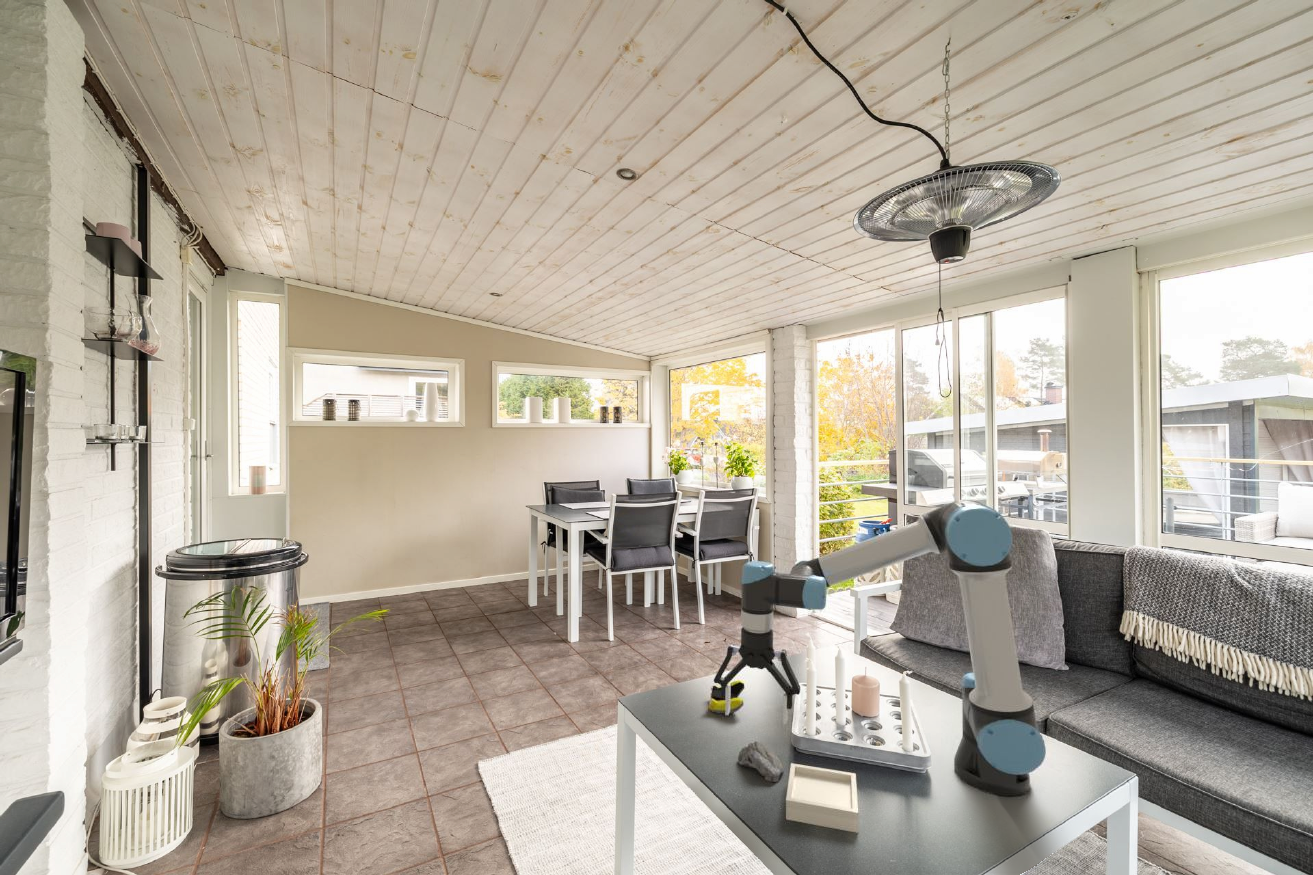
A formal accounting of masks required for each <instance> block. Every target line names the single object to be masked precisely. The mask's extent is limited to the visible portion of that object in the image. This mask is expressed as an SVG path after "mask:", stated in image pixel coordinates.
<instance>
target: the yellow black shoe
mask: <svg viewBox="0 0 1313 875" xmlns="http://www.w3.org/2000/svg"><path fill="white" fill-rule="evenodd" d="M729 684H731V696H730V713H729V714H734V713H736V712H739V710H740V709H741V708H742V707H743V706H744V700H743V699H742V698H741V697H739V696H740V695H741V693H742V692H743V691H744V689H745V683H744V682H743V680H734V681H732V682H729ZM710 691H711V693H710V697H709V698H708V701H709V702H708V709H709V710H710V711H711V712H712V713H715V714H716V713H717V714H725V700H724V699H722V698H721V686H717V685H711V686H710Z"/></svg>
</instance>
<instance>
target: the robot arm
mask: <svg viewBox="0 0 1313 875" xmlns="http://www.w3.org/2000/svg"><path fill="white" fill-rule="evenodd" d="M1012 545H1013V533H1012V529H1011V527H1010V524H1009V523H1008V521H1007V520H1006V519H1005V517H1004V516H1003V515H1002V514H1001V513H999V511H997V510H996V509H994V508H993V507H990V506H988V505H985V504H983V503H981V502H980V501H976V500H973V499H972V500H971V499H959V500H954V501H952V502H950V503H948V504H947V503H946V504H945V505H943V506H941V507H938V508H936V509H933V510H932V511H929V512H926V513H924V514H921V515H919V517H918V519H917V520H916V521H915V522H913V523H909V524H907V525H904V526H900V527H899V528H895V529H892V530H890V531H887V532H884V533H882V534H879V535H875V536H873V537H871V538H868V539H865V540H862V541H859V542H857V543H854V544H852V545H849V546H846V547H844V548H841V549H837V550H834V551H832V552H829V553H827V554H823V555H821V556H819V557H815V558H813V559H811V560H806V559H805V560H804V559H803V560H800V561H797V563H795V564H794V566H792V568H791V570H790V573H782V572H781V573H780V572H778V571H777V572H776V571H775V566H774V564H773V563H771V562H767V561H761V560H760V561H759V560H758V561H757V560H753V561H748V562H745V563H744V564H743V565H742V571H741V572H742V574H741V575H742V576H741V582H740V585H741V613H740V614H741V615H740V625H741V629H740V646H737V645H735V644H734V643H729V645H728V646H727V651H726V656H725V658H724V660H723V661H722V663H721V665H720V667H719V669H718V670H717V673H716V675H715V676H714V678H713V683H714V684H719V685H720V687H721V698H722V699H724V700H725V713H724V715H725V716H729V714H731V713H730V696H731V684H730V683H731V681H732V680H733V679H734V678H735V677H736V676H737V675H738V673H740V672H741V671H742V670H743V669H744V668H745V667H746V666H747V667H749V668H750V669H759V670H764V669H766V670H767V672H769V673H770V674H771V676H772V677H773V678H774V679H775V681H776V682H777V683H778V685H779V686H780V688H781V690H783V696H782V697H783V698H782V701H783V707H782V708H783V710H782V711H783V712H782V713H783V715H782V716H783V717H782V724H783V725H787V723H788V710H792V709H793V697H794V695H800V693H801V685H800V683H799V681H798V679H797V676H796V675H795V673H794V671H793V669H792V667H791V664H790V662H789V660H788V653H787V652H788V651H787V650H786V649H782V650H778V651H777V650H776V651H775V649H774V630H773V629H774V606H777V607H787V608H796V609H797V608H798V609H805V610H809V611H811V610H814V611H815V610H820V611H822V610H824V609H825V608H826V606H827V588H830V587H832V586H835V585H838V584H840V583H844V582H847V581H850V580H852V579H856V578H859V577H860V576H864V575H867V574H870V573H873V572H876V571H879V570H881V569H885V568H888V567H890V566H893V565H896V564H899V563H902V562H905V561H908V560H911V559H914V558H917V557H920V556H923V555H925V554H928V553H931V552H932V553H934V554H937V555H940V554H942V553H946V554H947V555H946V556H947V561H948V567H949V570H950V571H951V572H952V573H954V574H955V575H956V576H957V577H958V582H959V588H960V589H959V590H960V594H961V600H962V601H961V602H962V607H963V613H964V621H965V627H966V633H967V635H966V636H967V639H968V647H969V652H970V653H969V654H970V659H971V666H972V672H969V673H966V674H964V675H963V677H962V683H961V685H960V686H961V688H962V694H961V696H962V708H961V709H962V714H961V716H962V718H961V719H962V722H961V723H962V737H961V739H960V742H959V745H958V747H957V750H956V752H955V755H954V758H953V761H954V763H953V764H954V765H953V768H954V772H955V774H956V775H957V776H958V777H959V778H960V780H962V782H963V781H964V782H965V783H966V784H968V785H969V786H971V787H973V788H975V789H977V790H980V791H982V792H985V793H988V792H989V794H992V795H996V794H997V796H1002V797H1005V796H1006V797H1018V796H1023V795H1025V794H1026V793H1028V792H1029V790H1030V788H1031V777H1030V773H1032V772H1034V771H1036V769H1038V768H1039V767H1040V766H1042V764H1043V762H1044V761H1045V758H1046V751H1047V748H1046V745H1045V740H1044V737H1043V736H1042V734H1041V733H1040V731H1039V729H1038V725H1037V718H1036V712H1035V706H1034V701H1033V698H1032V697H1031V695H1029V694H1028V693H1027V692H1025V691H1024V690H1023V684H1022V679H1021V671H1020V666H1019V658H1018V652H1017V645H1016V638H1015V633H1014V626H1013V620H1012V614H1011V613H1012V612H1011V608H1010V607H1011V606H1010V602H1009V595H1008V587H1007V582H1006V575H1007V574H1008V573H1009V572H1010V571H1011V569H1012V568H1013V567H1012V560H1011V553H1010V552H1011V549H1012ZM737 653H738V654H739V656H740V657H741V659H740V661H738V663H737V664H736V665H734V666H733V668H732V669H731V670H730V671H729V672H728V673H727V674H726V675H725V676H724V677H723V674H724V672H725V670H726V668H727V667H728V665H729V663H730V662H731V659H732V657H734V656H736V654H737ZM775 658H776V659H777V660H778V661H779V662H780V663H781V666H782V668H783V671H784V673H785V675H786V677H787V679H788V681H789V682H788V681H787V679H786V678H785V677H784V675H783V674H782V673H781V672H780V670H779V668H777V666H776V665H775V662H774V661H773V660H774V659H775Z"/></svg>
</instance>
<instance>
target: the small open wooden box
mask: <svg viewBox="0 0 1313 875" xmlns="http://www.w3.org/2000/svg"><path fill="white" fill-rule="evenodd" d="M788 776H789V777H788V784H787V790H786V796H785V819H786V821H787V820H788V821H793V822H798V823H799V822H800V823H803V824H808V825H815V826H820V827H826V828H831V829H834V830H835V829H837V830H841V831H847V832H850V833H855V834H857V833H858V834H859V806H858V789H857V788H858V787H857V774H856V773H855V772H848V771H841V770H836V769H830V768H824V767H816V766H810V765H804V764H800V763H799V764H797V763H793V762H791V763H790V769H789V775H788Z"/></svg>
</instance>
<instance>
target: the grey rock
mask: <svg viewBox="0 0 1313 875" xmlns="http://www.w3.org/2000/svg"><path fill="white" fill-rule="evenodd" d="M737 762H739V764H740V765H743V766H744V767H747V768H753V769H756V771H758V773H759V774H761V776H763V777H764V779H765V781H767V782H771V783H778V782H779V778H780V776H781V775H782V774H783V773H784V770H785V769H784V767H783V764H782V762H781V761H780V759H779V758H778V757H777V756H776V754H775V752H773V750H772V751H771V749H770V748H769V747H767V745H765V744H764V743H761V742H760V741H754V742H750V743H748V745H747V746H744V747H742V748H741V750H740V751H739V753H738V756H737Z"/></svg>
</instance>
